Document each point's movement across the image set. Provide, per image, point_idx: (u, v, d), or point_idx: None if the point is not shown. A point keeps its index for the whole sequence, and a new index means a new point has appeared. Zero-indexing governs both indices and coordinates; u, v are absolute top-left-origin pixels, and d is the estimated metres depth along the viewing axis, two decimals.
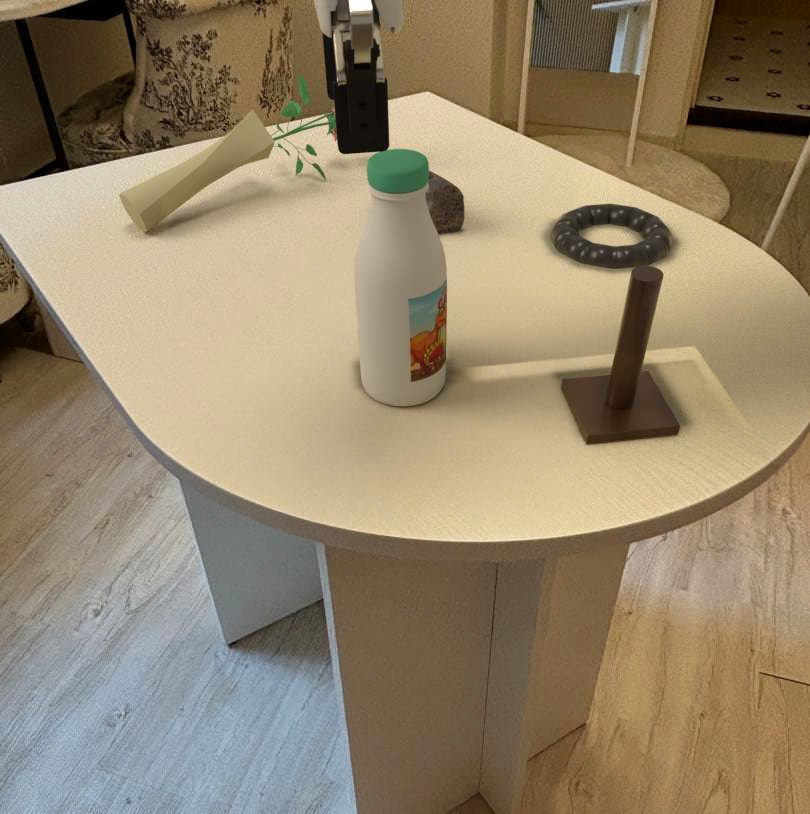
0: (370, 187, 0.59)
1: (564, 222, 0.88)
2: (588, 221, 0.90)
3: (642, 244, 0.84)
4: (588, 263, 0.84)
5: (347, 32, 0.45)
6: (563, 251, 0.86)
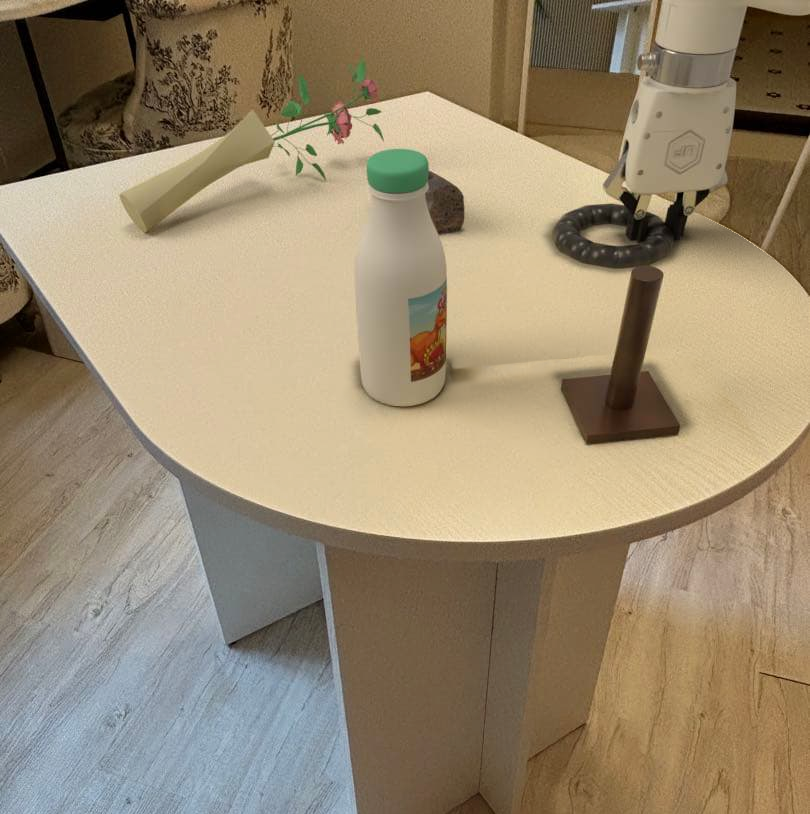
0: (370, 187, 0.59)
1: (565, 222, 0.88)
2: (589, 221, 0.90)
3: (643, 244, 0.84)
4: (589, 263, 0.84)
5: None
6: (565, 250, 0.86)
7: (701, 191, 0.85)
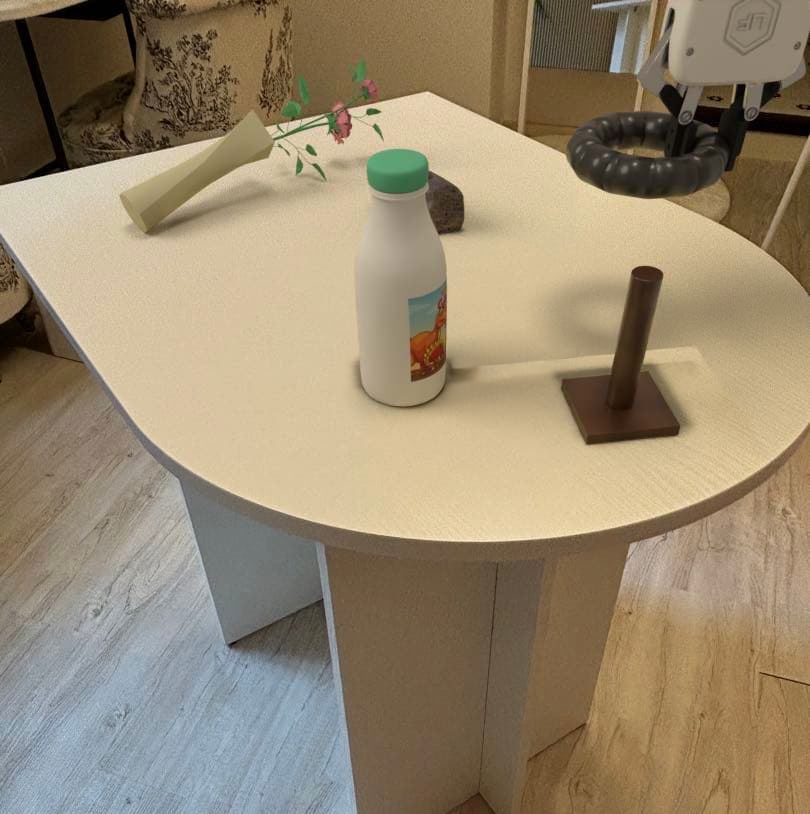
0: (370, 187, 0.59)
1: (585, 130, 0.66)
2: (617, 132, 0.68)
3: (690, 155, 0.62)
4: (617, 180, 0.63)
5: None
6: (584, 165, 0.64)
7: (769, 86, 0.63)
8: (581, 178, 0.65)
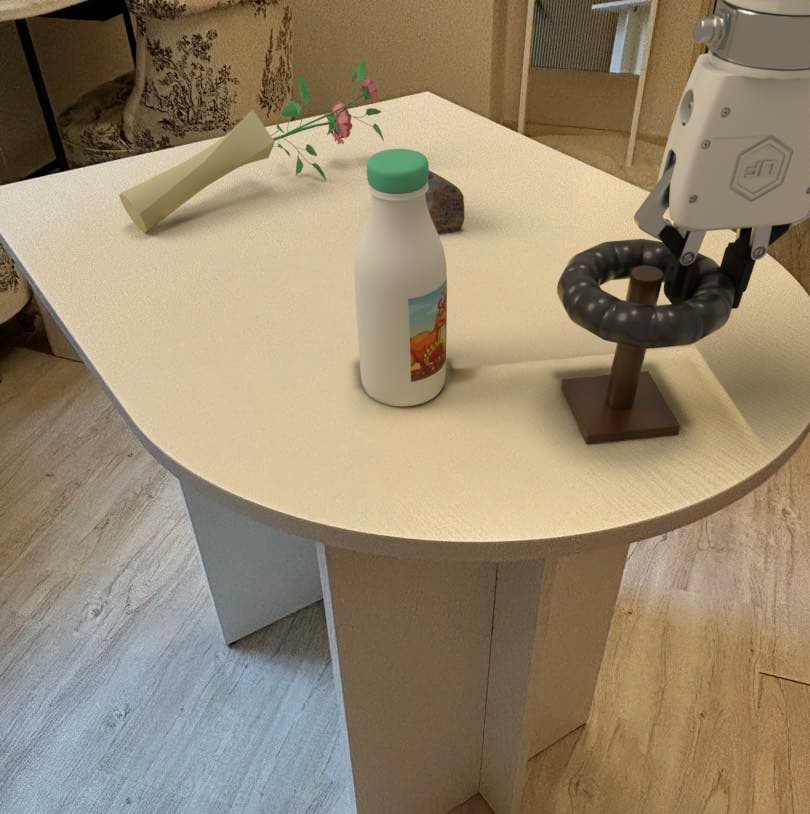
0: (370, 187, 0.59)
1: (578, 268, 0.61)
2: (612, 265, 0.63)
3: (694, 303, 0.57)
4: (615, 330, 0.57)
5: None
6: (578, 311, 0.59)
7: (778, 225, 0.58)
8: (575, 322, 0.60)
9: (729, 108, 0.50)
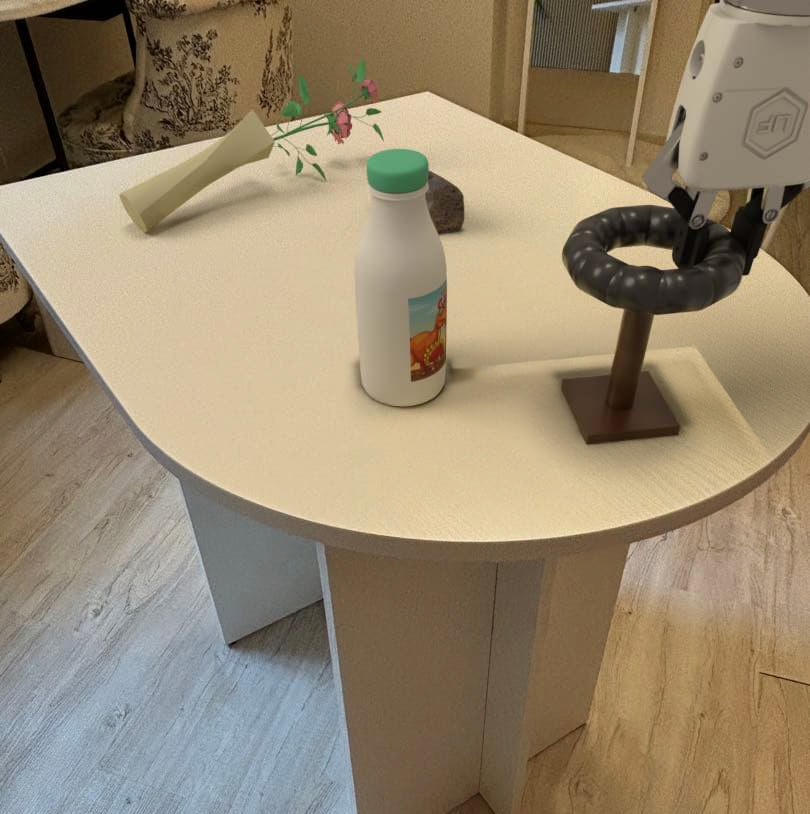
0: (370, 187, 0.59)
1: (583, 233, 0.59)
2: (618, 231, 0.61)
3: (704, 267, 0.55)
4: (622, 296, 0.55)
5: None
6: (584, 276, 0.57)
7: (791, 186, 0.56)
8: (580, 288, 0.58)
9: (742, 58, 0.48)
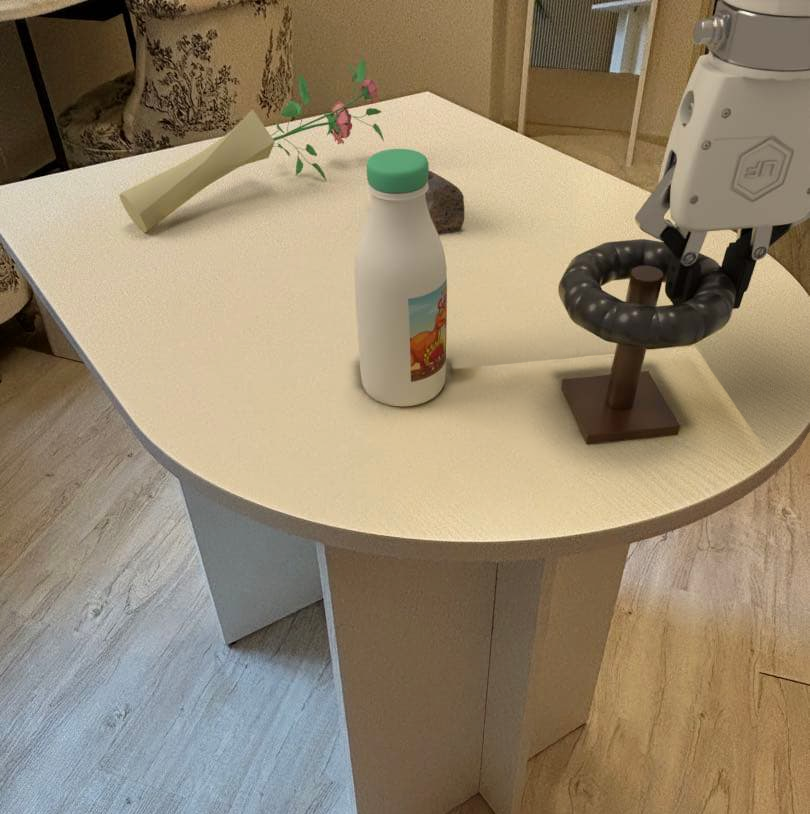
0: (370, 187, 0.59)
1: (579, 269, 0.61)
2: (613, 265, 0.63)
3: (695, 303, 0.57)
4: (616, 331, 0.57)
5: None
6: (579, 312, 0.59)
7: (779, 225, 0.58)
8: (576, 323, 0.60)
9: (729, 109, 0.50)
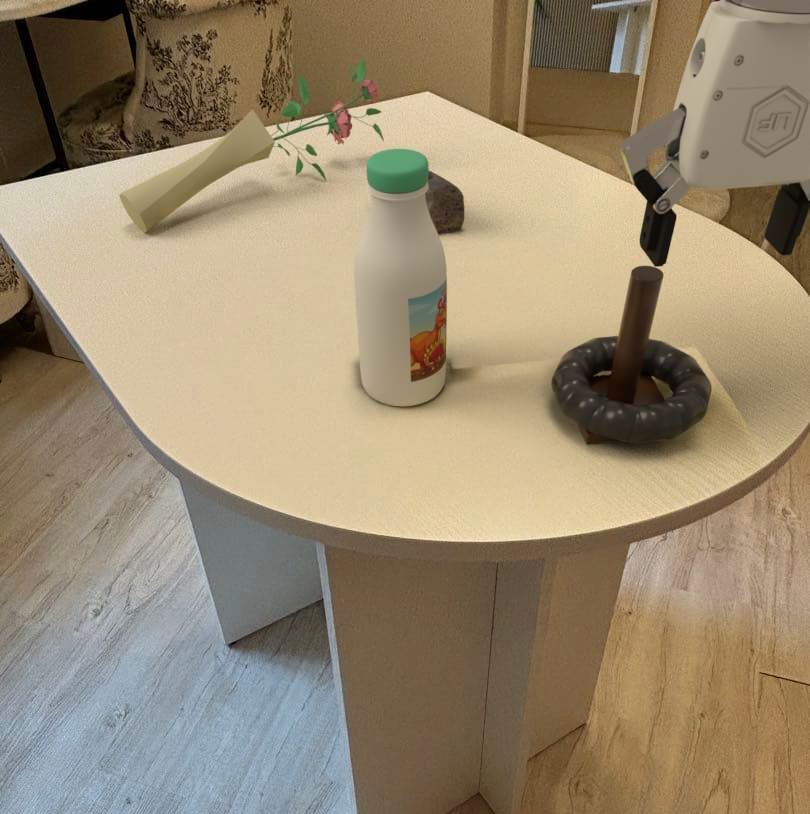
0: (370, 187, 0.59)
1: (570, 366, 0.68)
2: (601, 360, 0.70)
3: (674, 403, 0.64)
4: (603, 428, 0.64)
5: (672, 166, 0.55)
6: (570, 408, 0.65)
7: None
8: (567, 416, 0.67)
9: (743, 56, 0.47)
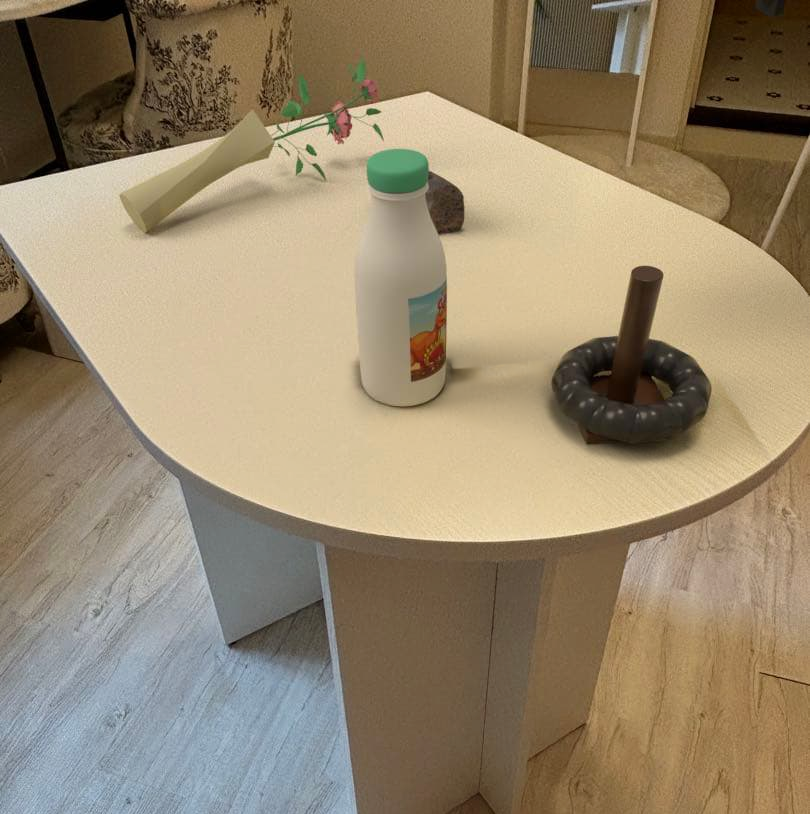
0: (370, 187, 0.59)
1: (570, 366, 0.68)
2: (601, 360, 0.70)
3: (674, 403, 0.64)
4: (603, 428, 0.64)
5: None
6: (570, 408, 0.65)
7: None
8: (567, 416, 0.67)
9: None
